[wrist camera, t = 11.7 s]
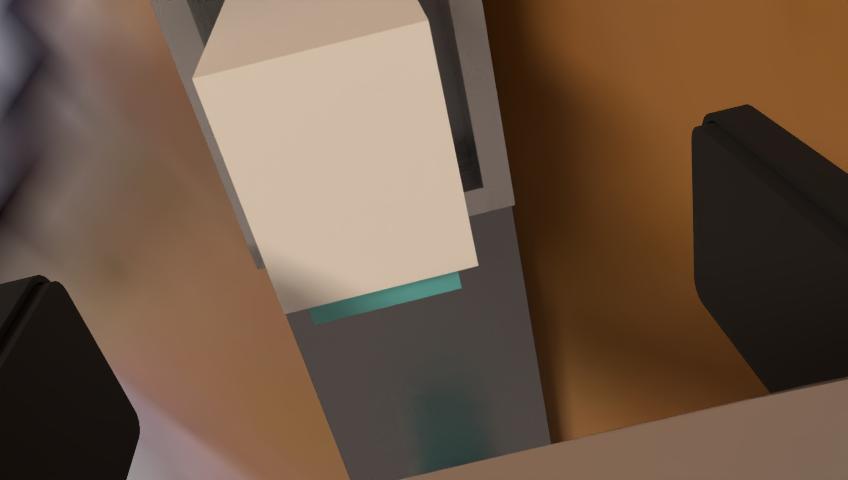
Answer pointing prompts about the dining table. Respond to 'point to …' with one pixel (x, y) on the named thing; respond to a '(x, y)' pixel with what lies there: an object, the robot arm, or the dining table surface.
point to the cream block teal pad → (338, 150)
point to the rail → (427, 317)
